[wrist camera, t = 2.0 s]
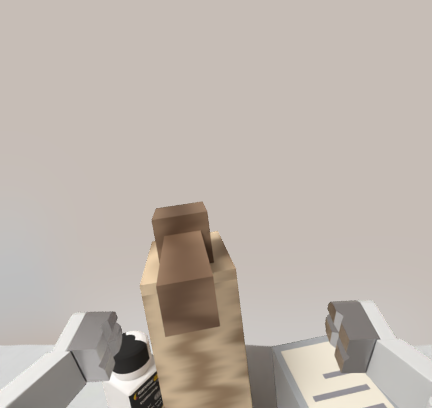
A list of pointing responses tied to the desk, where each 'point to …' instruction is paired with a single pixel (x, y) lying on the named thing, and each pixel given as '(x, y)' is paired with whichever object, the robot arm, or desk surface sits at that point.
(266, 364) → the desk surface
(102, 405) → the desk surface
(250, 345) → the desk surface
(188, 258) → the brown wooden bar
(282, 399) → the plinth
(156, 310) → the tall wooden pillar
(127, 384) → the medicine bottle
